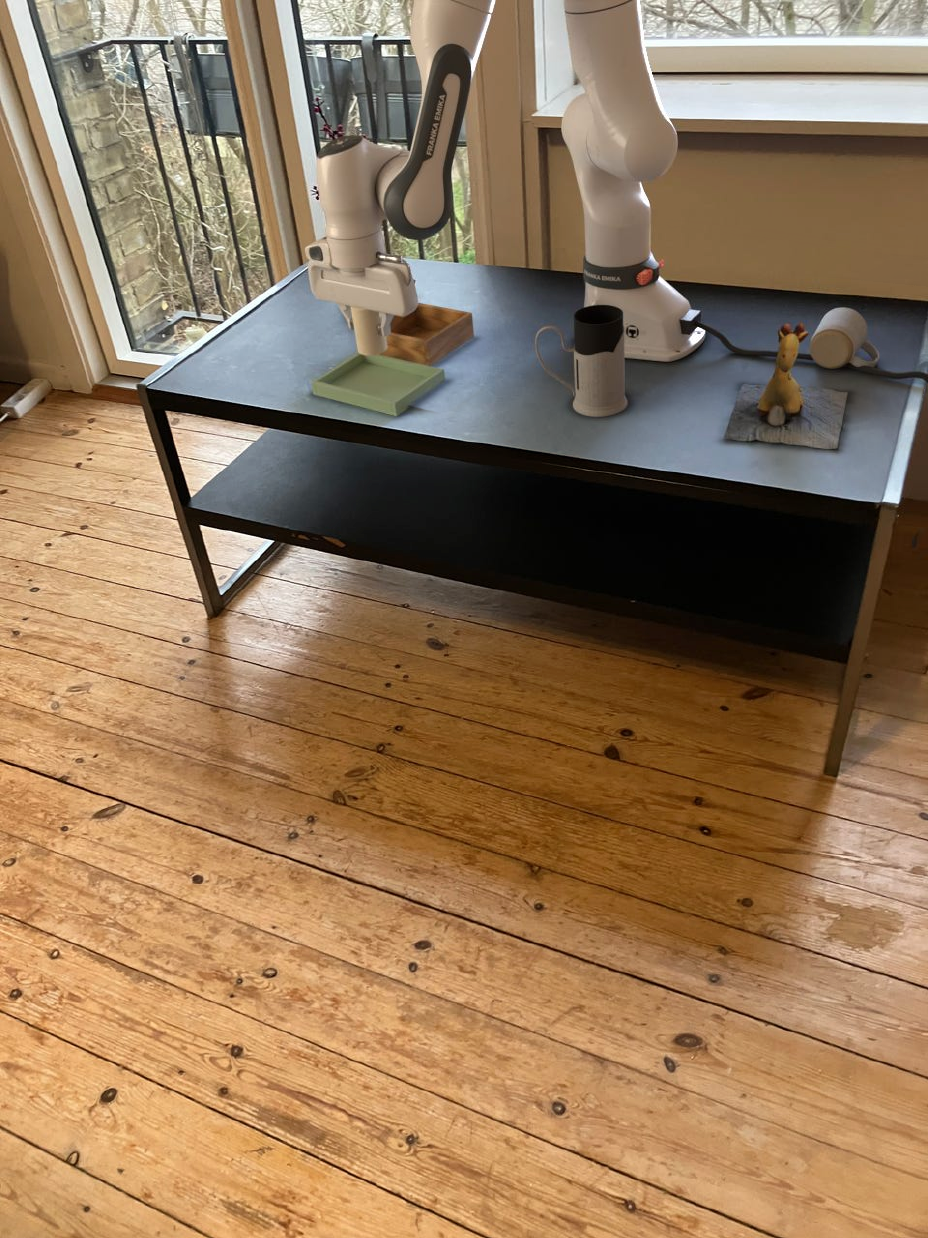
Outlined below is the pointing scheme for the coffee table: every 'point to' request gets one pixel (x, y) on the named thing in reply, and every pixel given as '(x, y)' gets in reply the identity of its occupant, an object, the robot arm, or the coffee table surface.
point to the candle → (368, 331)
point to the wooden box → (428, 334)
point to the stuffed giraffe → (787, 405)
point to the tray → (378, 382)
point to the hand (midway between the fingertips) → (369, 331)
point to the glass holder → (596, 360)
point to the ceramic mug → (841, 340)
